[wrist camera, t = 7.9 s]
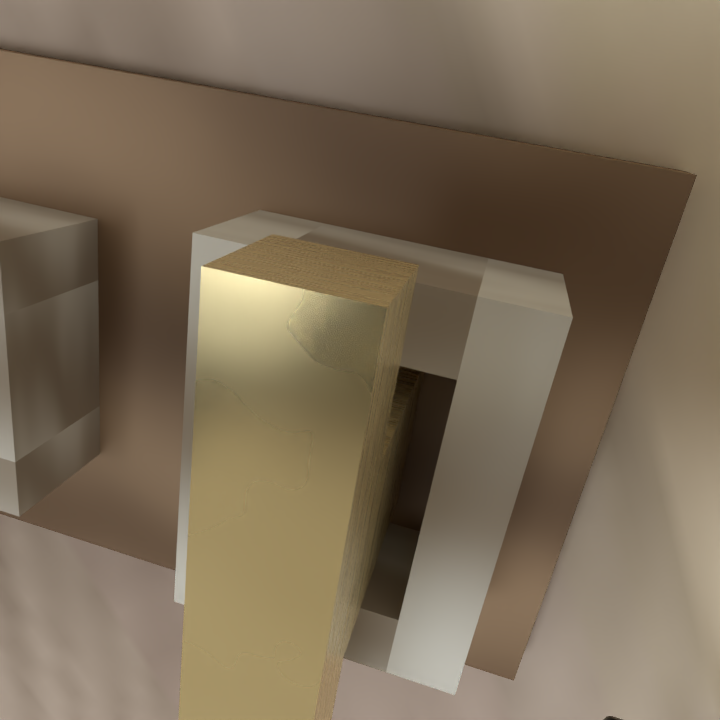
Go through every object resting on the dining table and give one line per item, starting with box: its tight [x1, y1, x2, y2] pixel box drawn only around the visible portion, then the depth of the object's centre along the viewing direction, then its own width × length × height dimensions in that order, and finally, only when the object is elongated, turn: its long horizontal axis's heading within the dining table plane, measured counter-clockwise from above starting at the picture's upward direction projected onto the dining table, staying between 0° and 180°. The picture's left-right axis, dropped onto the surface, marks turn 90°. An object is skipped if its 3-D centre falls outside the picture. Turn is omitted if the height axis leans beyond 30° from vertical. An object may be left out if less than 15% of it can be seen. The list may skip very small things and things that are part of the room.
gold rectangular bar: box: [179, 234, 425, 720], centre depth 11 cm, size 2×10×7 cm, turn 172°
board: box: [0, 49, 697, 695], centre depth 15 cm, size 13×22×4 cm, turn 81°
